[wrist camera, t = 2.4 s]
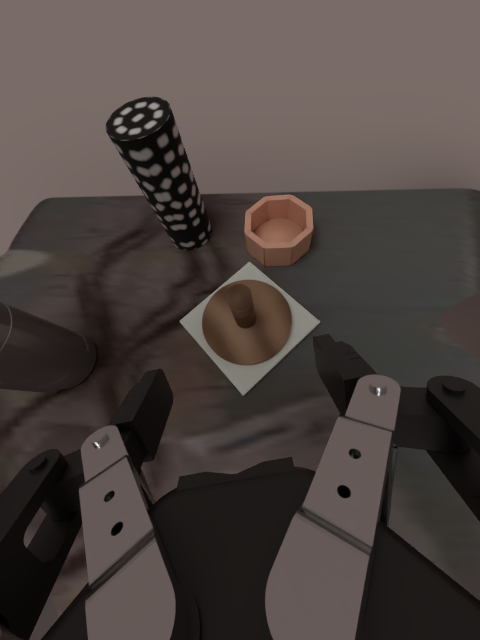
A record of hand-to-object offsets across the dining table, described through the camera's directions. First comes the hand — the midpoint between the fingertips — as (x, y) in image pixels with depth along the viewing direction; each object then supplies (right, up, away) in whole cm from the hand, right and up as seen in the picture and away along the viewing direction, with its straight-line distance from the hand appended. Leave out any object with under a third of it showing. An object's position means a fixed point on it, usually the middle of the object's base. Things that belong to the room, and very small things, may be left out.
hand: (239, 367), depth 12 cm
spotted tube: (-10, +20, +35) cm, 41 cm away
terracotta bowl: (+7, +17, +31) cm, 36 cm away
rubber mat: (+1, +2, +26) cm, 26 cm away
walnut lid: (+1, +2, +26) cm, 26 cm away
